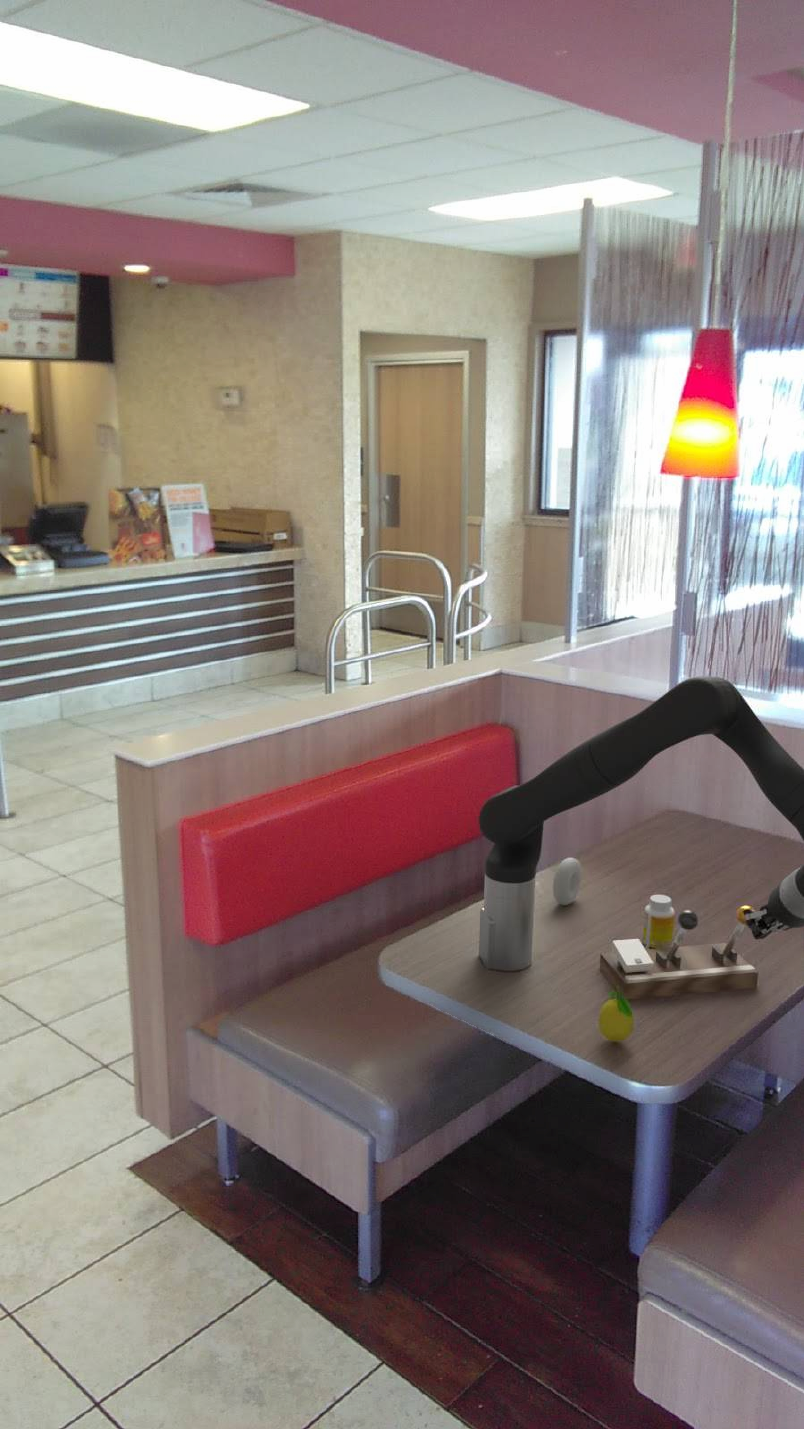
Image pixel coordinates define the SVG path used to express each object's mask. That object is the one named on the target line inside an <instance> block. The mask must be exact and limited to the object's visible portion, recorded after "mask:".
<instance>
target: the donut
mask: <svg viewBox="0 0 804 1429" xmlns="http://www.w3.org/2000/svg"><path fill="white" fill-rule="evenodd" d="M582 874H583V871H582V865H581V863H580V862H579V861H578V859H576V858H574V857H567V858H564V859H563V860H562V861H561V862H560V863H559V865H558V867H557V869H556V871H555V874H554V878H553V883H552V893H553V897H554V899H555V901H556V902H557V904H560V905H562V906H567V905H570V904H571V903H573V902H574V900H575V899H576V898H577V895H578V894H579V892H580V889H581V884H582V878H583V876H582Z"/></svg>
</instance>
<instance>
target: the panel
mask: <svg viewBox="0 0 804 1429" xmlns="http://www.w3.org/2000/svg"><path fill="white" fill-rule="evenodd" d="M727 943H728V942H723V943H722V942H721V943H720V942H719V943H709V944H699V945H698V944H697V945H685V946H679V948H678V950H677V952H676V954H675V956H674V958H673V960H672V961H667V958H666V956H667V954H668V952H669V950H670V948H659V949H647V950H646V949H645V950H646V952H647V953H648V955H649V956H650V958H651V960H652V961H653V963H654V964H653V969H652V970H651V971H640V972H628V973H626V972H625V971H624V969H623V967H622V965H621V964H620V962H619V960H618V959H617V957H616V955H615V953H614V952H613V951H611V952H604V953H603V952H600V958H599V970H600V971H601V970H602V971H601V973H603V974H604V977H606V978H607V979H608V981H609V982H610V983H611V984H612V985H613V986H614V988H615V990H617V988H618V986H619V992H620V994H622V995H624V997H625V998H626V999H627V1001H628V1000H637V999H648V998H649V999H651V998H658V997H670V996H671V997H672V996H678V995H679V996H681V995H682V996H683V995H693V994H703V993H715V992H724V991H735V990H744V989H745V990H746V989H756V988H758V979H759V978H758V977H759V972H758V970H756V968H755V967H754V966H753V965H752V964H750V963H749V962H747V961H746V960H745V958H743V957H742V956H741V955H740V954H739V953H738V952H737V951H736V950H735V949H734V948H733V949H732V950H731V952H730V954H729V956H728V957H725V956H724V953H723V950H724V949H725V947H726V945H727Z"/></svg>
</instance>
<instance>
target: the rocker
mask: <svg viewBox="0 0 804 1429" xmlns="http://www.w3.org/2000/svg"><path fill="white" fill-rule="evenodd" d="M611 950H612V952H614V953H615V955H616V957H617V959H618V960H619V962H620V964H621V965H622V967H623V969H624V971H625V972H626V973H628V972H640V971H651V970H652V969H653V964H654V963H653V961H652V960H651V958H650V956H649V955H648V953H647V952H646V949H645V948H644V947H643V942H641V940H640V939H639V938H631V939H630V938H629V939H620V940H618V939H617V940H612V943H611Z"/></svg>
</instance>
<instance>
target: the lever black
mask: <svg viewBox="0 0 804 1429" xmlns="http://www.w3.org/2000/svg"><path fill="white" fill-rule="evenodd" d="M677 922H678V924H679V927H680V928H679V930H678V932H677V934H676V935H675V938H674V940H673V941H672V946H671V948H670V950H669V952H668V954H667V956H666V958H667V961H672V960H673V958H674V956H675V954H676V952H677V950H678V948H679V947H681V946H680V945H681V944H682V941H683V939H684V937H685V935H686V933H687V931H691V930H694V929H695V928H696V927H697V926H698V923H699V917H698V915H697V913H696V912H694V911H693V910H691V909H686V910H685V909H684V910H682V911H681V912H680V913H679V914H678V916H677Z"/></svg>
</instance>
